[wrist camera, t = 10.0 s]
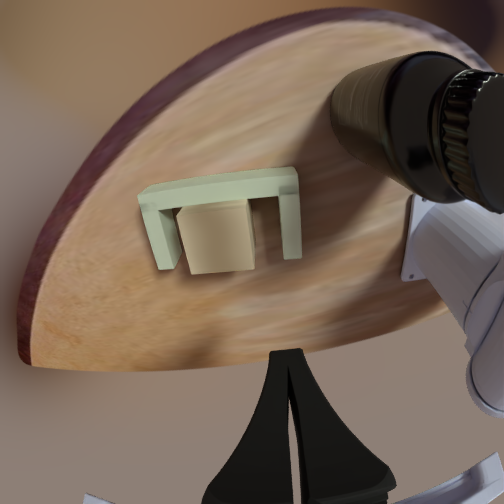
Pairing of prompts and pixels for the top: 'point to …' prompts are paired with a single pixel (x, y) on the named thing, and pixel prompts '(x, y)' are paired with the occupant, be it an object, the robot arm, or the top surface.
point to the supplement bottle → (427, 126)
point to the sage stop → (218, 190)
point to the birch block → (218, 236)
